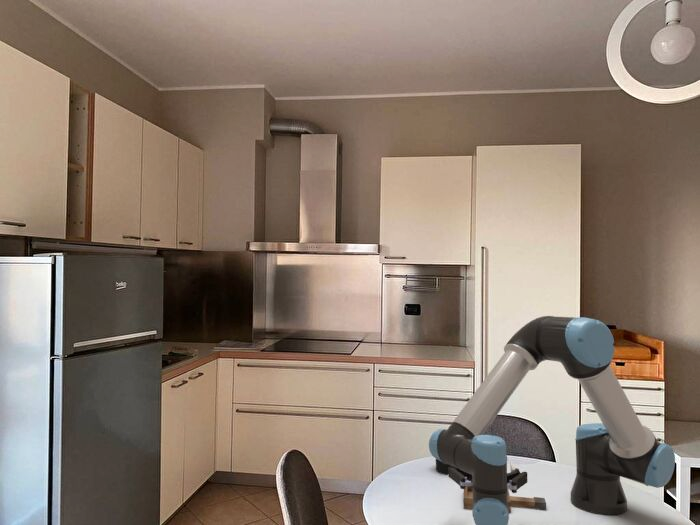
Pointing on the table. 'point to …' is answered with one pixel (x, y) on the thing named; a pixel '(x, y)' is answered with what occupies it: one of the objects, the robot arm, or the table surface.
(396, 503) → the table surface
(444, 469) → the pen holder
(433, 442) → the robot arm
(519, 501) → the wooden tray with handle
